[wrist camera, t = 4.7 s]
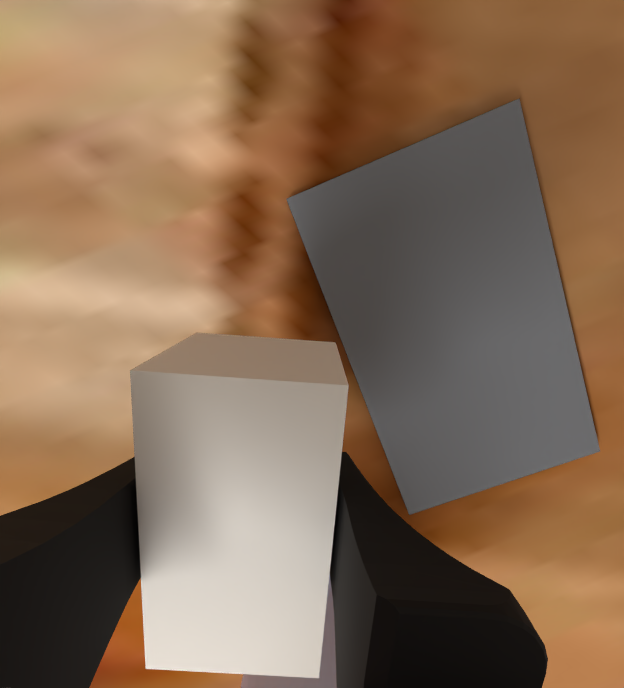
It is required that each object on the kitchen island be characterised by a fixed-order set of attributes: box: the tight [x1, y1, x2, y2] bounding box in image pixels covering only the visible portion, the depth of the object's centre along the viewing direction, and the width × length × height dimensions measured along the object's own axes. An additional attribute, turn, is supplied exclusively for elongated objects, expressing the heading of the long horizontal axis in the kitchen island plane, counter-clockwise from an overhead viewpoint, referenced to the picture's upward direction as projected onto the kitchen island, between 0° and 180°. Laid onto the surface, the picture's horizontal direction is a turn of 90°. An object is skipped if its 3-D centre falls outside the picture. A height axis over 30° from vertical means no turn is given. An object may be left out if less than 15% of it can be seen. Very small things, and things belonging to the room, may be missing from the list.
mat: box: [287, 99, 600, 515], centre depth 19 cm, size 20×12×1 cm, turn 22°
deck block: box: [130, 333, 349, 678], centre depth 11 cm, size 9×5×4 cm, turn 176°
